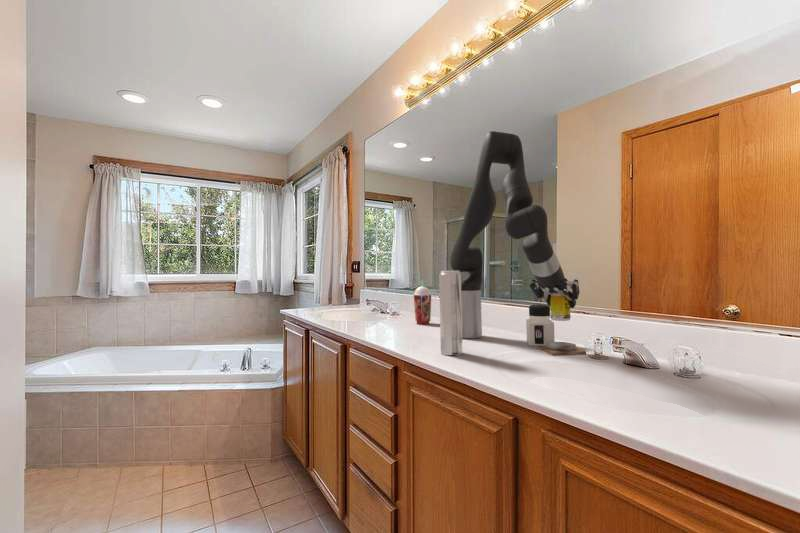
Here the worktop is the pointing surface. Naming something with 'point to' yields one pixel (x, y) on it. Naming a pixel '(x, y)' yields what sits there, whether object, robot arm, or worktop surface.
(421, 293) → the smoothie
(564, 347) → the hub
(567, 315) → the supplement bottle
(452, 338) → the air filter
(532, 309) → the container
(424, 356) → the worktop surface
